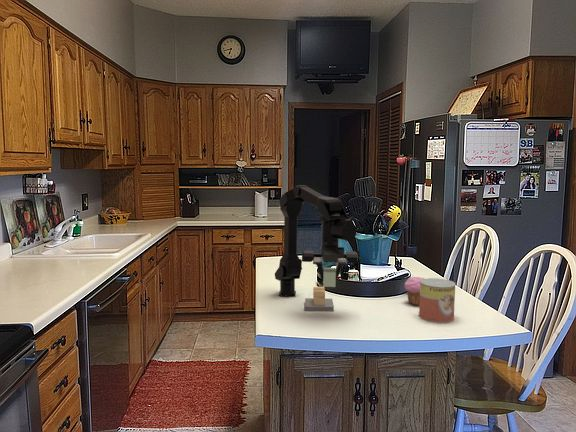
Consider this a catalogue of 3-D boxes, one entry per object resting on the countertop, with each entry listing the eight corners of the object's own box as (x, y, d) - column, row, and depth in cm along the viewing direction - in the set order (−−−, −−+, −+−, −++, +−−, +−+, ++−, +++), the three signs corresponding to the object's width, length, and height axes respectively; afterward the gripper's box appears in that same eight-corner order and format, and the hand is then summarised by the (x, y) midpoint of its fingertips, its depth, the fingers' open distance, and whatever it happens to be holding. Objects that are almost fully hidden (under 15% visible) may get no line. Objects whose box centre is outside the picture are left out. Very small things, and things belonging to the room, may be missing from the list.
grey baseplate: (305, 302, 172) (305, 298, 172) (332, 302, 172) (332, 298, 172) (305, 310, 163) (305, 306, 162) (333, 311, 162) (333, 307, 162)
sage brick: (322, 281, 161) (323, 267, 161) (334, 282, 161) (334, 267, 160) (323, 286, 155) (323, 272, 155) (335, 287, 155) (335, 272, 154)
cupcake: (399, 301, 173) (400, 275, 172) (418, 298, 177) (419, 273, 175) (415, 308, 165) (415, 281, 164) (434, 305, 168) (435, 278, 167)
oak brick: (313, 300, 170) (313, 286, 170) (324, 300, 170) (324, 286, 169) (313, 305, 164) (313, 291, 164) (324, 305, 164) (324, 291, 163)
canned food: (434, 325, 148) (435, 288, 147) (411, 314, 159) (412, 280, 157) (461, 320, 153) (463, 284, 152) (437, 310, 163) (439, 276, 162)
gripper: (302, 240, 148) (301, 287, 151) (360, 241, 148) (359, 288, 150) (302, 233, 159) (301, 278, 162) (357, 235, 159) (355, 279, 161)
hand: (329, 281), depth 158 cm, fingers closed on sage brick, 4 cm apart
